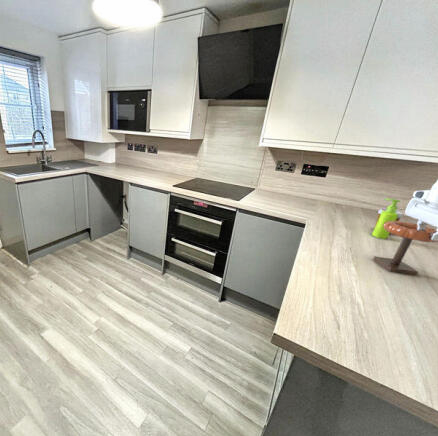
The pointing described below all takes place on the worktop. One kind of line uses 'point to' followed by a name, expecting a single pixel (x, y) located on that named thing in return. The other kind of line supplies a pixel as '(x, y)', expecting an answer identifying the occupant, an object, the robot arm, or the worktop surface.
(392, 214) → the soap dispenser
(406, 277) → the worktop surface
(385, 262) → the stand
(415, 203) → the robot arm
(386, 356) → the worktop surface
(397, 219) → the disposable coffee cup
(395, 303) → the worktop surface
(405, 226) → the ring
